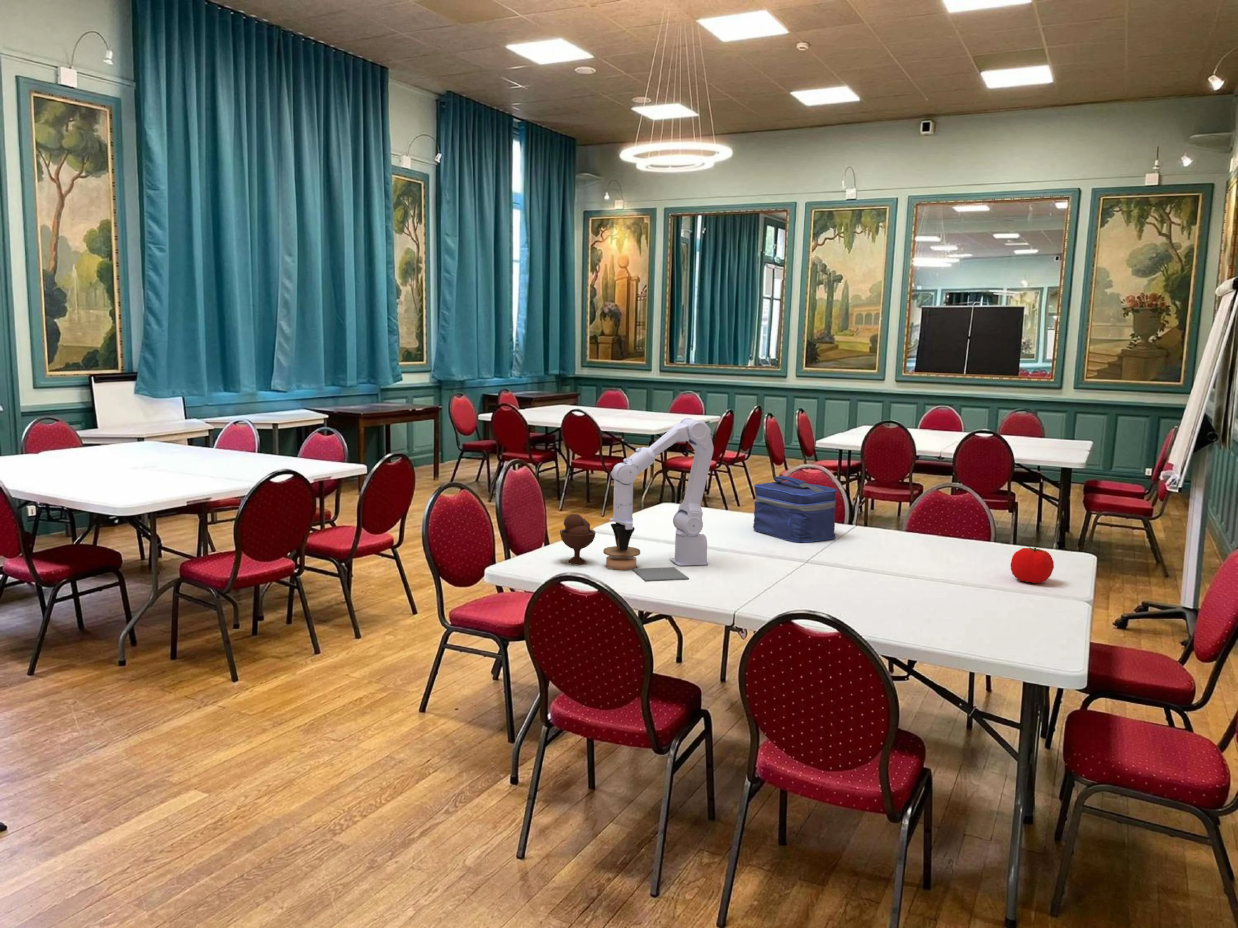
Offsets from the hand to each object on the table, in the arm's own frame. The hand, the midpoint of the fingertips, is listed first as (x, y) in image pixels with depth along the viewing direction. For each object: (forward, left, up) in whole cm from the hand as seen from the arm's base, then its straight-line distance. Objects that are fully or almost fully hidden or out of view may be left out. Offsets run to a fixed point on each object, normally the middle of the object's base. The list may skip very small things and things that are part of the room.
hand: (622, 548), depth 272 cm
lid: (0, 0, -1) cm, 1 cm away
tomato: (-115, +37, -6) cm, 121 cm away
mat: (-8, +12, -5) cm, 15 cm away
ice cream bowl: (+12, -7, -6) cm, 15 cm away
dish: (0, 0, -5) cm, 5 cm away
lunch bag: (-74, -36, -6) cm, 83 cm away
